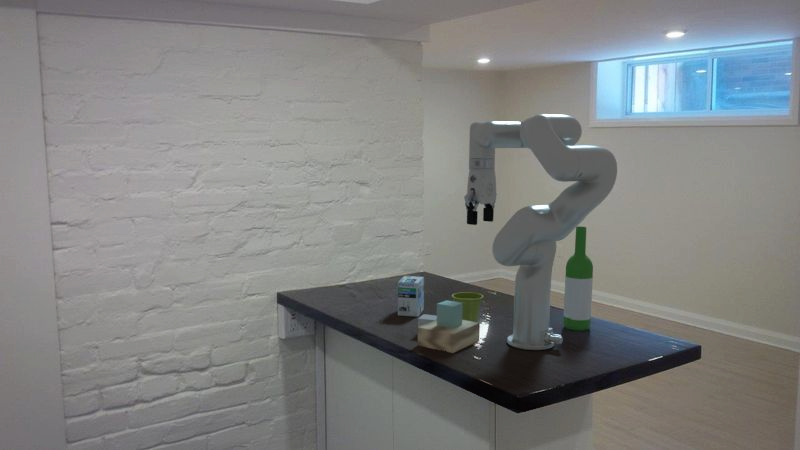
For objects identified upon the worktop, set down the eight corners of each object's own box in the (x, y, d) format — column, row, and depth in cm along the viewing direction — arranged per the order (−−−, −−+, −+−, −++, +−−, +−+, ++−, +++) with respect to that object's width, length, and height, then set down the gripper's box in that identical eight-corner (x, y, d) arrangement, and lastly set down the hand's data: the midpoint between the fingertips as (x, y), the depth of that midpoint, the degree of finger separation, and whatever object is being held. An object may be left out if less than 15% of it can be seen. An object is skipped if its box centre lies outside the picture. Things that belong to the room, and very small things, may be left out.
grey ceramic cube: (440, 333, 201) (440, 316, 201) (434, 337, 197) (435, 320, 196) (423, 331, 203) (423, 314, 203) (417, 335, 199) (418, 318, 198)
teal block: (462, 324, 192) (462, 302, 191) (452, 328, 187) (453, 306, 187) (446, 321, 194) (446, 300, 194) (436, 325, 190) (436, 303, 190)
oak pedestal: (479, 340, 194) (479, 322, 193) (452, 353, 183) (453, 334, 182) (445, 333, 200) (445, 316, 200) (417, 345, 189) (417, 327, 188)
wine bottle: (575, 323, 213) (580, 224, 209) (595, 329, 207) (600, 227, 203) (557, 326, 209) (561, 226, 205) (577, 333, 203) (582, 229, 199)
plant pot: (447, 326, 208) (447, 297, 207) (455, 318, 217) (456, 290, 216) (478, 329, 205) (479, 300, 204) (485, 321, 214) (486, 293, 213)
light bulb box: (418, 317, 218) (418, 283, 217) (397, 315, 220) (397, 281, 218) (424, 309, 229) (424, 276, 227) (403, 307, 230) (404, 275, 229)
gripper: (478, 166, 197) (476, 226, 199) (506, 164, 211) (505, 221, 213) (455, 165, 201) (454, 224, 204) (484, 163, 215) (483, 219, 218)
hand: (480, 222), depth 209 cm, fingers open, 9 cm apart
